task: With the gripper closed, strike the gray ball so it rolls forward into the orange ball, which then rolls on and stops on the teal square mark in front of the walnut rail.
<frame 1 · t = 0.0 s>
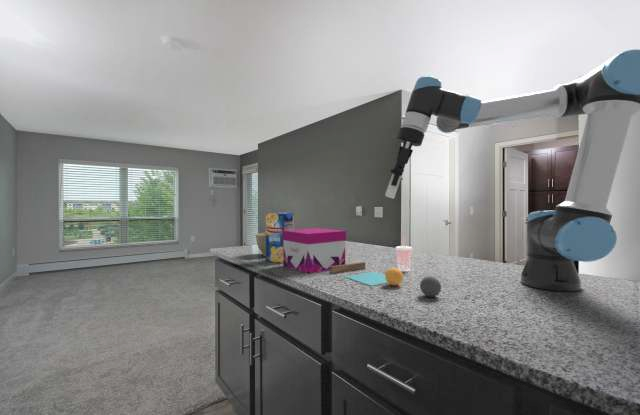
hand: (389, 197, 94), 28 cm above the worktop, tool tilted 20°, fingers open, 13 cm apart
teal mark: (373, 278, 106), on the worktop
orange ball: (394, 276, 97), on the worktop
decorative box: (314, 267, 127), on the worktop
beverage box: (280, 261, 140), on the worktop
planter bowl: (272, 255, 156), on the worktop
beverage cup: (403, 270, 119), on the worktop
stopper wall: (348, 270, 118), on the worktop
gray ball: (430, 286, 85), on the worktop
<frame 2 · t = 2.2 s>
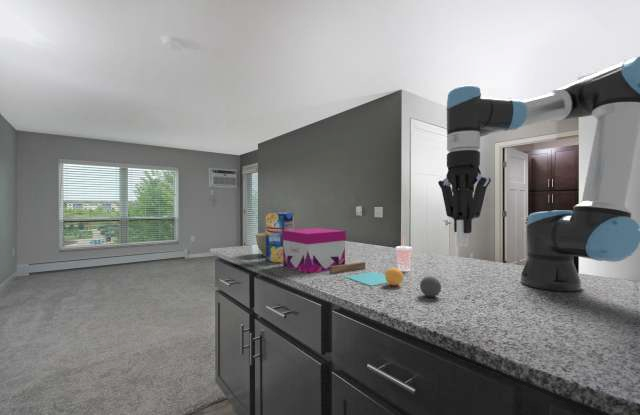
hand: (462, 245, 76), 15 cm above the worktop, tool pointing down, fingers closed
nothing on the worktop moved.
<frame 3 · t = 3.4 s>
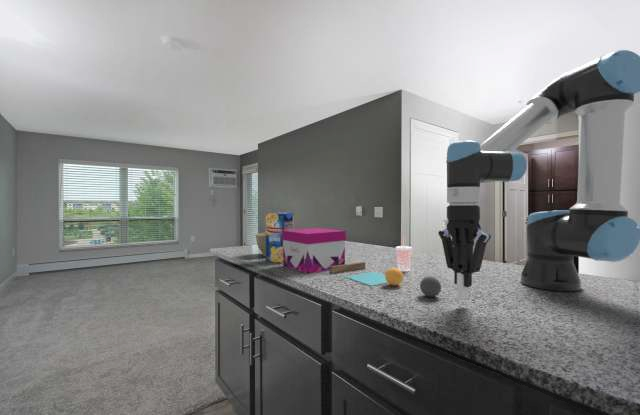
hand: (462, 298, 77), 2 cm above the worktop, tool pointing down, fingers closed
nothing on the worktop moved.
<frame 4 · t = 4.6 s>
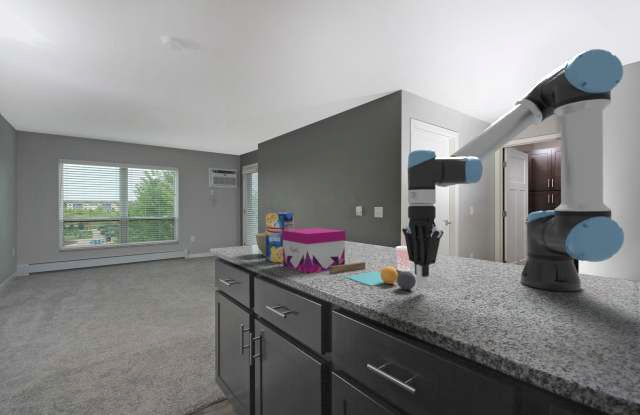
hand: (421, 287, 88), 2 cm above the worktop, tool pointing down, fingers closed
orange ball: (389, 275, 99), on the worktop
gray ball: (406, 280, 92), on the worktop
everything else where it was.
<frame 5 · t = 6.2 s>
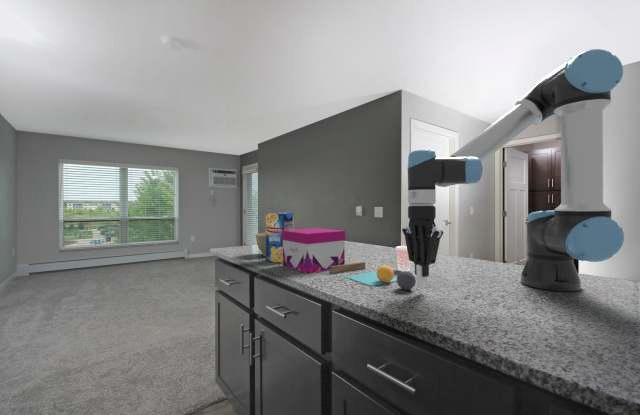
hand: (421, 287, 88), 2 cm above the worktop, tool pointing down, fingers closed
orange ball: (385, 274, 101), on the worktop
everything else where it was.
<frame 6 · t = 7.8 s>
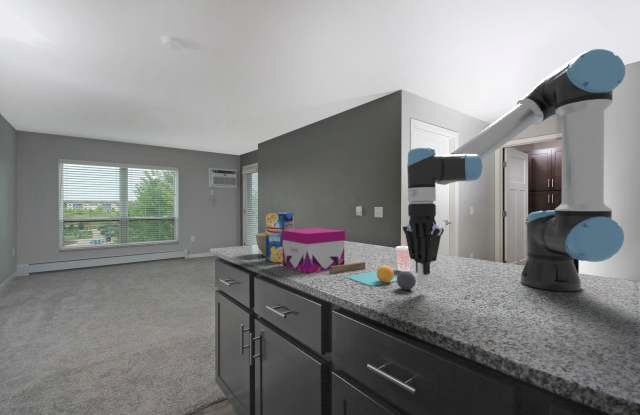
hand: (423, 285, 88), 3 cm above the worktop, tool pointing down, fingers closed
nothing on the worktop moved.
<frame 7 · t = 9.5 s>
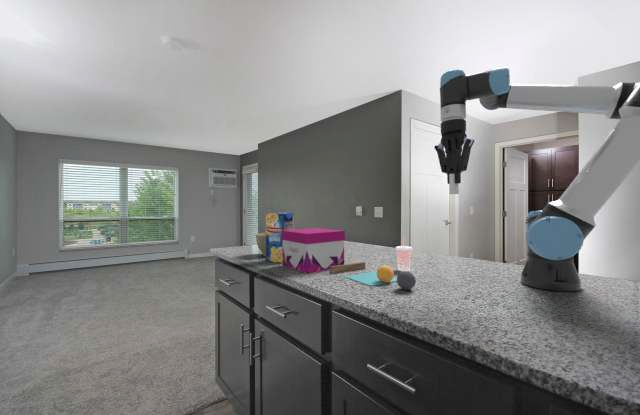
hand: (454, 194, 99), 29 cm above the worktop, tool pointing down, fingers closed
nothing on the worktop moved.
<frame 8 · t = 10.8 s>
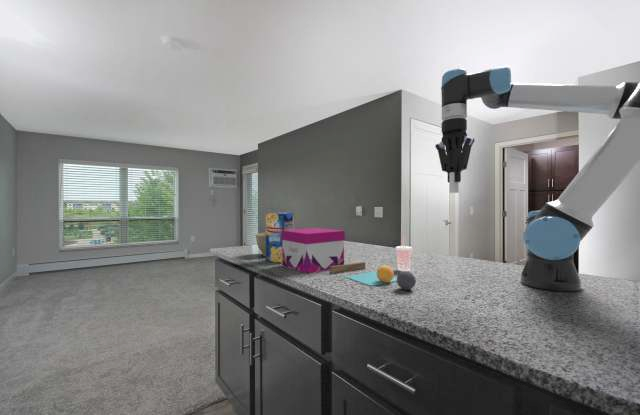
hand: (454, 192, 100), 29 cm above the worktop, tool pointing down, fingers closed
nothing on the worktop moved.
at the end: orange ball 5.8 cm from the teal mark (horizontally); orange ball never touched the robot; gray ball first touched orange ball at 4.3 s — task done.
